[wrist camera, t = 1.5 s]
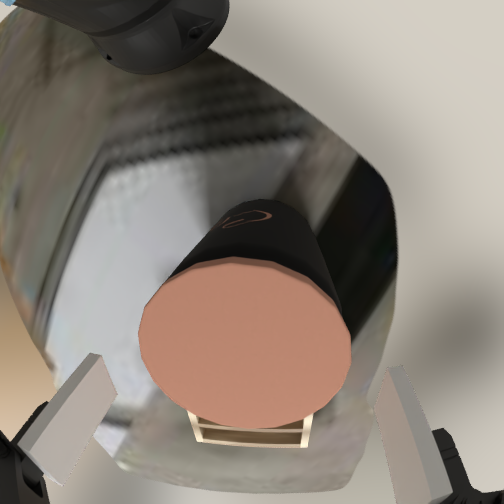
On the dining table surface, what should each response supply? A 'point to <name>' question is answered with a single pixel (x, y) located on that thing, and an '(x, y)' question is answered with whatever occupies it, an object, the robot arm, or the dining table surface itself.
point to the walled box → (253, 434)
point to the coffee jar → (249, 323)
